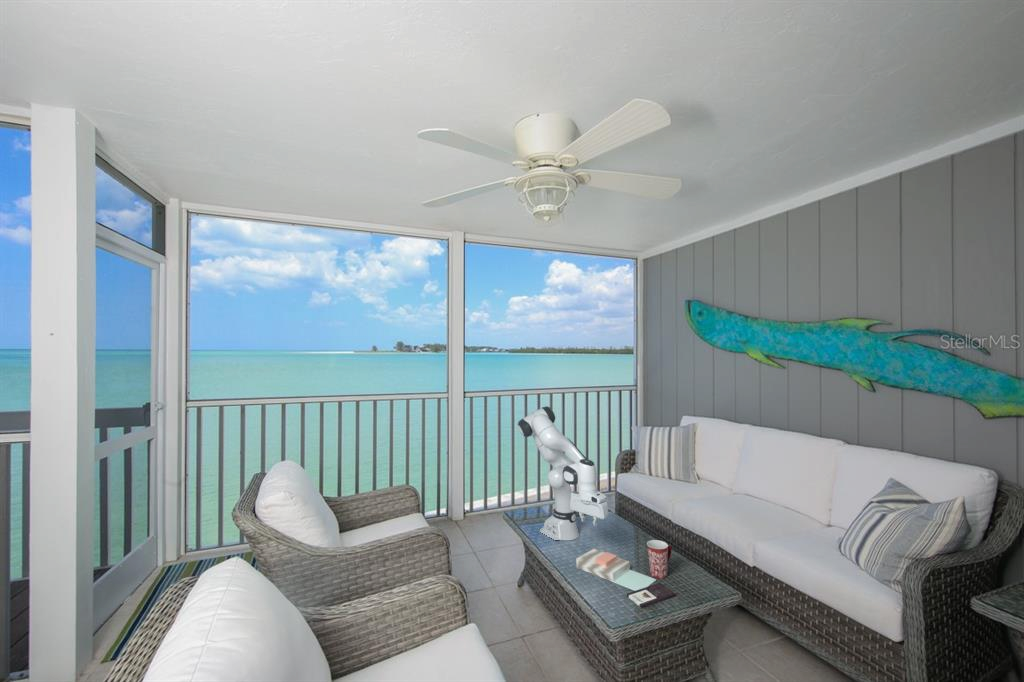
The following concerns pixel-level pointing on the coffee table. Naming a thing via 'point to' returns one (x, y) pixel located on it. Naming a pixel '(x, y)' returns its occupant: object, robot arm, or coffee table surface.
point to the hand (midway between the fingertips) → (589, 523)
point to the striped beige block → (609, 572)
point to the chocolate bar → (651, 595)
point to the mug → (658, 557)
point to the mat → (634, 580)
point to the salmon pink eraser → (606, 559)
